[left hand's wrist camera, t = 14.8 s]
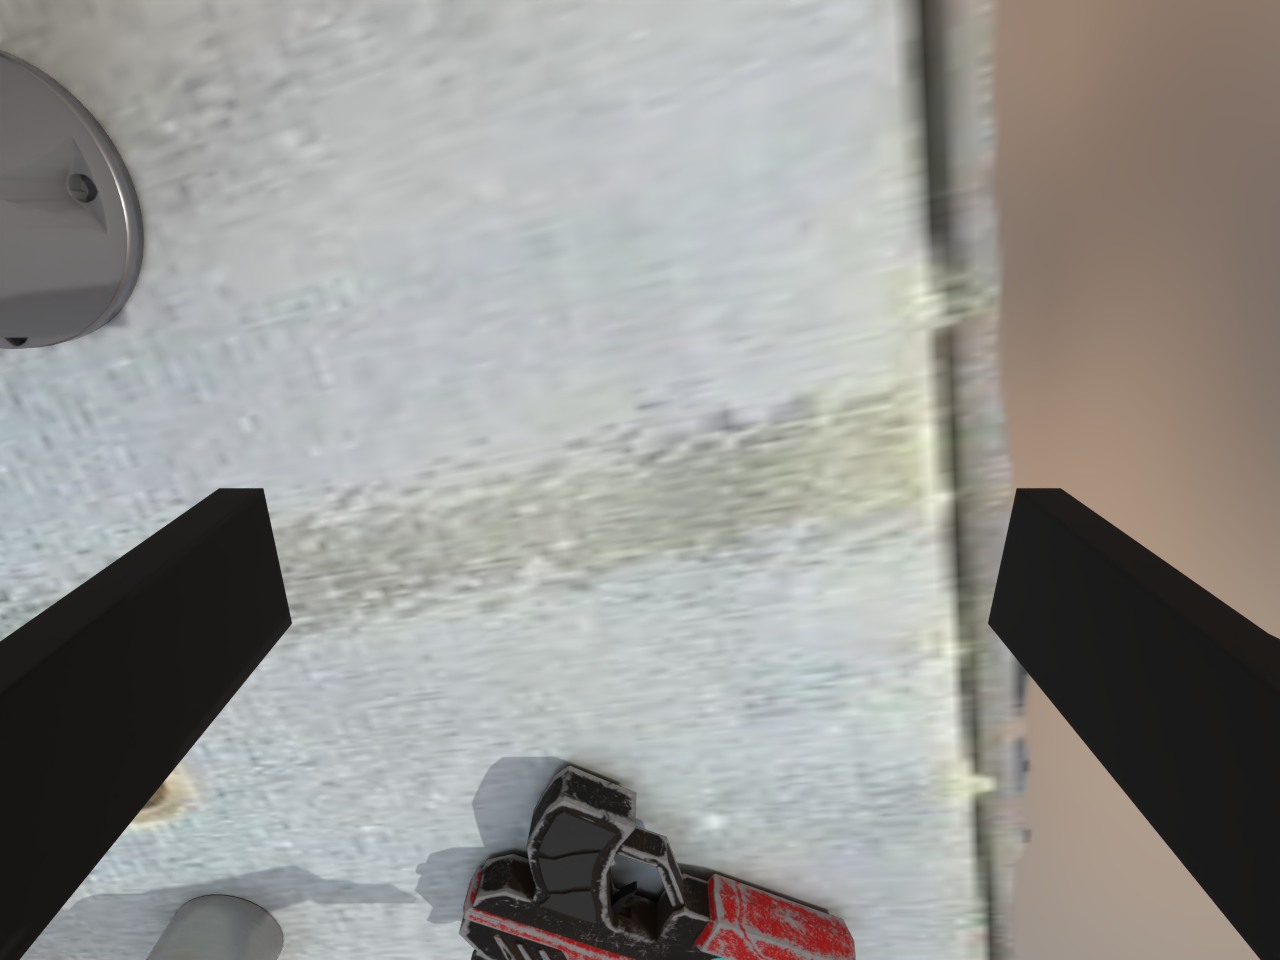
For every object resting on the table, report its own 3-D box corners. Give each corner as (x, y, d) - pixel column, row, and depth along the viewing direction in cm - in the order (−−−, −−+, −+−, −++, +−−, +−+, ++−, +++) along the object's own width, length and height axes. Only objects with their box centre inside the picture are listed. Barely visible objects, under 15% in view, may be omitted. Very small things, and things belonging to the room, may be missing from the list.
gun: (523, 794, 48) (437, 964, 55) (916, 930, 53) (790, 1072, 60) (534, 746, 53) (453, 909, 60) (897, 875, 57) (782, 1014, 64)
